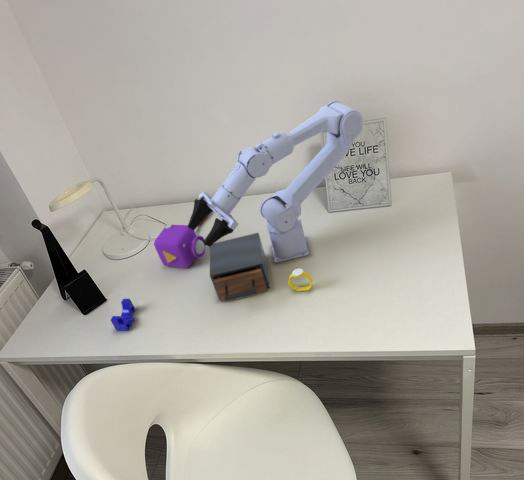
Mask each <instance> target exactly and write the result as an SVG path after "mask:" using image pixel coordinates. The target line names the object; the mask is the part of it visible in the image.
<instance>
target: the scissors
mask: <svg viewBox="0 0 524 480" xmlns="http://www.w3.org/2000/svg"><path fill="white" fill-rule="evenodd" d="M208 217H209V215H207V216H206V217H205V218H204V219H203V220H202V221H201V223H200V224H199V225H198V227H197V228H196V229H195V230H194V231H195V234H197V230H198V228H199V226H201V224H203V222H204V221H205V220H207V218H208Z"/></svg>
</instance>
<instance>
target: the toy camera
mask: <svg viewBox="0 0 524 480" xmlns="http://www.w3.org/2000/svg"><path fill="white" fill-rule="evenodd" d="M204 240H205V238H204V236H202V235H197V233H195V231H194V230H192V229H190V228H188V224H171V223H168V224H166V225H165V226H164V228H163V229H162V230H161V231H160V232H159V234H158V236H156V237H155V239H154V241H153V246H154V248H155V251H156V253H157V255H158V257H159V259H160V261H161V263H162V265H163V266H165V267H173V268H189V267H190V266H191V265H192V264H193V262H194V261H195V259H196V258H197V259H202V258H203V257H204V256H205V253H206V246H207V245H205V244H204V243H203V242H204Z"/></svg>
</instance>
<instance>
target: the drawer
mask: <svg viewBox="0 0 524 480" xmlns="http://www.w3.org/2000/svg"><path fill="white" fill-rule="evenodd" d="M213 283H214V285H215V288H216V290H217V293H218V295H217V297H218V296H219V298H220V300H219V301H220V302H221V303H222V302H230V301H234V300H239V299H242V298H247V297H251V296H256V295H257V294H260V293H265V292H268V291H269V289H267V286H266V282H265V279H264V276H263V273H262V269H261V268H260V267H256V268H252V269H247V270H243V271H239V272H235V273H231V274H226V275H222V276H218V277H217V279H213ZM213 283H212V284H213ZM214 285H213V286H214ZM215 288H214V289H215ZM216 290H215V291H216ZM217 293H216V294H217ZM219 298H218V299H219Z"/></svg>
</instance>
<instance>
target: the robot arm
mask: <svg viewBox="0 0 524 480" xmlns="http://www.w3.org/2000/svg"><path fill="white" fill-rule="evenodd" d="M362 132H363V116H362V114H361V112H360V111H358V110H356V109H353V108H351V107H349V106H347V105H345V104H343V103H342V102H341V101H339V100H332V101H330V102H328V103H327V104H326V105H323V106H320V108H319V110H318V111H317V113H315V114H314V115H312V116H310V117H309V118H308V119H306V120H304V121H303V122H302V123H300V124H299V125H297V126H296V127H295V128H293V129H292V130H290V131H288V132H283V131H279V132H277V131H275V132H273V133H272V134H271V136H270V137H269V138H267V139H265V140H264V141H262V142H260V143H259V142H258V143H257V144H255V146H251V147H249V146H248V147H246V148H245V149H243V150H240V151H239V152H238V155H237V158H236V159H237V161H236V164H235V165H234V167H233V169H232V171H230V173H229V175H228V176H227V177H226V178H225V179H224V181H223V182H222V184H221V185H220V187H219V188H218V189H217V191H216V192H215V193H214V195H213V196H211V195H210V194H209V193H207V192H206V191H203V190H202V191H201V192H200V193H199V195H198V196H197V197H198V198H199V199H198V198H195V199H194V200H193V202H194V203H193V209H192V212H191V213H192V214H191V215H190V219H189V221H188V224H187V225H188V228H190V229H192V230H195V229H196V228H197V227H198V228H199V226H200V225H201V224H202V223H201V221H202V220H203V219H204V218H205V217H206V216H207V215H208V216H209V215H210V214H212V213H213V212H214V213H215V214H216V215H217V217H215V219H214V222H213V225H212V227H211V229H210V231H209V233H208V234H207V236H206V237H205V238H204V242H203V243H204V244H205V245H206V246H207V247H209V248H210V246H211V245H212V244H214V243H217V242H218V241H219V240H220V239H222V238H224V237H225V236H227V235H230V234H232V233H233V232H234V231H235V229H237V227H239V222H238V221H237V220H236V219H235V218H234V217H233V216H232V214H231V213H232V211H233V210H234V209H235V208H236V206H237V205H238V203H240V201H241V200H242V198H243V197H244V196H245V194H246V193H247V191H248V190H249V189H250V187H251V186H252V185H253V184H254V182H255V181H256V179H257V178H261V177H265V176H266V175H267V174H268V172H269V170H270V168H271V167H273V165H275V164H276V163H278V162H279V161H281V160H283V159H285V158H286V157H288V156H289V155H291V154H293V152H294V148H295V147H296V146H298V145H299V144H301V143H303V142H305V141H307V140H310V139H311V138H313V137H315V136H317V135H319V134H321V133H326V144H325V145H324V146H323V148H321V150H320V151H319V152H318V153H317V154H316V155H315V157H313V158H312V160H311V161H310V162H308V164H307V165H306V166H305V167H304V168H303V169H302V171H301V172H300V173H299V174H298V175H297V176H296V177H294V179H293V181H292V182H291V183H290V184H289V185H288V186H287V187H286V188H284V189H281V190H276V191H275V192H274V193H273V194H272V195H271V196H269V197H266V198H265V199H264V200H263V201H262V202H261V204H260V207H259V213H260V215H261V216H262V217H263V218H264V219H265V220H266V228H267V233H268V236H269V239H270V243H271V248H272V250H271V251H272V256H273V261H274V263H275V264H276V263H281V262H285V261H289V260H293V259H294V260H295V259H298V258H302V257H306V256H309V250H308V245H307V244H308V239H307V237H306V236H305V232H304V228H303V224H302V220H301V219H298V218H299V217H300V216H301V215H302V203H303V202H304V201H305V200H306V199H307V198H308V197H309V196H310V195H311V194H312V193H313V191H314V190H315V189H316V188H317V187H318V186H319V185H320V184H321V183H322V182H323V180H325V178H326V177H327V176H329V174H330V173H331V172H332V171H333V170H334V169H335V167H336V166H337V165H338V164H339V163H340V162H341V161H342V160H343V159H344V157H346V155H347V154H348V153H349V152H350V149H351V148H352V146H353V143H354V141H355V139H356V138H358V136H359V135H360V134H361V133H362ZM218 217H219V218H220V219H219V218H218ZM200 223H201V224H200ZM199 224H200V225H199ZM198 225H199V226H198ZM198 228H197V229H198Z"/></svg>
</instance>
